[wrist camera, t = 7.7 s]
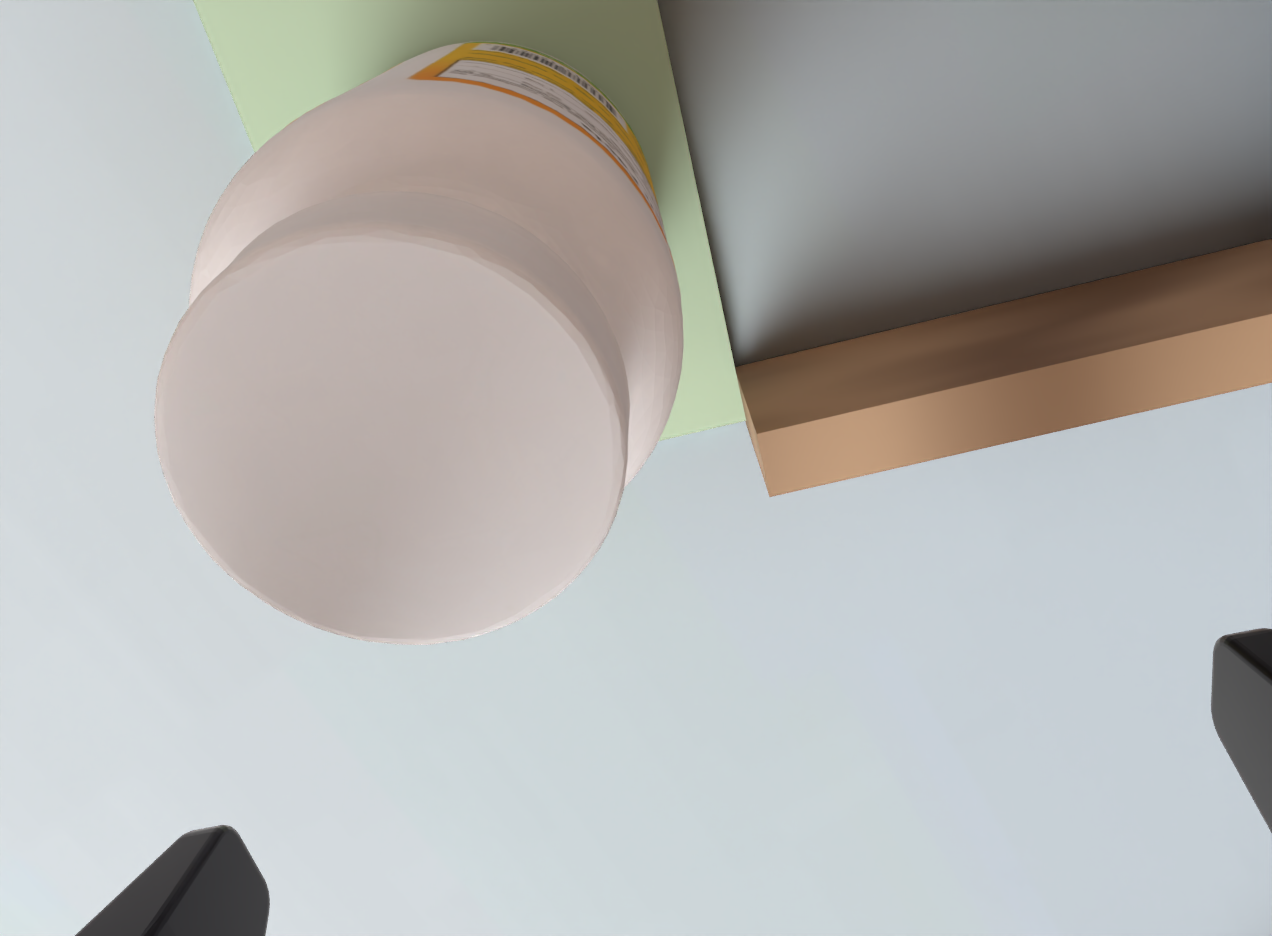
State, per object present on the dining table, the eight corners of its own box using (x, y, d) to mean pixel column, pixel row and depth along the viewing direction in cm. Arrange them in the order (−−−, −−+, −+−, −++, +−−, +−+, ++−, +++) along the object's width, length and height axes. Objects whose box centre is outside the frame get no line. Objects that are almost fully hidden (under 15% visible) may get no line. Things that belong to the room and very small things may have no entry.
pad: (617, -183, 15) (617, -186, 15) (744, 414, 19) (746, 420, 19) (177, -58, 15) (169, -58, 15) (399, 495, 20) (396, 502, 20)
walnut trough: (1306, -397, 14) (1473, -482, 11) (1271, 300, 19) (1383, 356, 16) (614, -199, 15) (617, -234, 12) (746, 423, 19) (769, 497, 17)
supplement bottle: (400, 387, 18) (225, 761, 10) (287, 86, 16) (-79, 229, 7) (684, 318, 18) (763, 646, 9) (611, -1, 16) (626, 42, 7)
